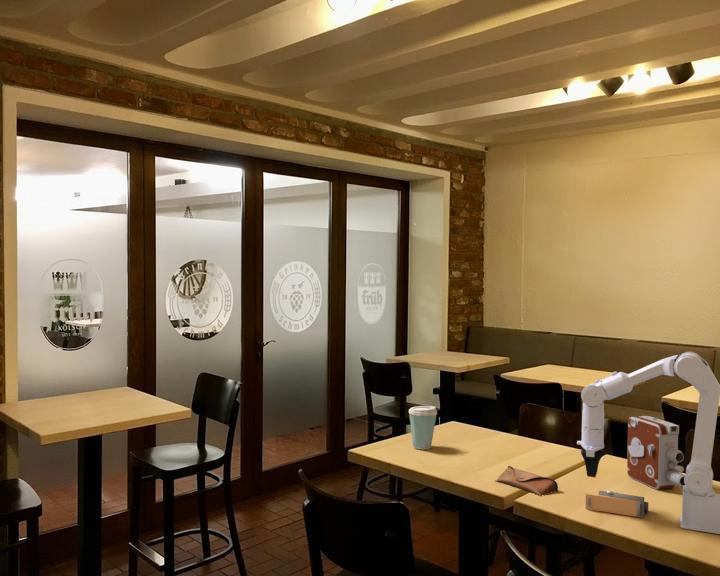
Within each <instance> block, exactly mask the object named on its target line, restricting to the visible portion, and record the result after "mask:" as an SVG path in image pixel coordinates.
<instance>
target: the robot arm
mask: <svg viewBox="0 0 720 576" xmlns="http://www.w3.org/2000/svg"><path fill="white" fill-rule="evenodd" d="M610 374H611V375H610V376H607V377H605V378H602V379H599V378H598V379H595V381H594V382H593V383H588V385H586V386H585V387H584V388H582V391H581V393H580V398H581V400H582V411H581V413H582V414H581V440H577V442H576V445H578V446H581V447H582V448H581V450H580V454H581V456H582V458H583V461H584V464H585V465H584V466H585V471H586V476H587V477H589V478H596V477H597V473H598V470H599V469H598V468H599V465H600V464H599V463H600V461H601V459H602V457H603V455H604V450H603V449H604V448H605V443H604V442H605V441H604V438H605V410H604V409H605V403H604V402H605V400H607V401H611V400H613V399H615V398H618V397H621V396H623V395H626V394H628V393H631V392H632V391H633V387H634V385H638V384H640V383H643V382H645V381H649V380H651V379H654V378H656V377H659V376H662V375H664V376H668V377H675V376H676V375H677V376H678V377H679V378H681V379H682V380H683V381H686V382H687V383H689V384H690V385H692V386H693V388H695V390H696V391H697V392H698V393H699V396H698V397H699V398H698V405H697V411H696V420H695V429H694V435H693V443H692V450H691V451H692V452H691V457H690V458H691V459H690V461H689V464H687V466H686V468H685V474H684V475H685V477H684V483H685V485H684V486H682V501H681V502H682V503H681V505H682V509H681V515H679V521H680V528H681V529H685V530H693V531H698V532H703V533H710V534H716V535H720V493H716V491H715V489H714V488H713V487H714V483H713V479H714V471H713V469H712V458H713V449H714V441H715V434H716V426H717V419H718V412H719V404H720V382H719V381H718V379H717V378H716V376H715V374H714V372H713V371H712V369H711V367H710V365H709V364H708V362H707V361H706V360H705V358H703V357H702V356H700V354H698V353H696V352H694V351H685V352H683V353H681V354H676V355H675V354H674V355H671V356H669V357H665V358H662V359H659V360H658V361H655V362H653V363H651V364H648V365H645V366H644V367H642V368H639V369H637V370H635V371H633V372H630V373H626V372H623V371H619V372H617V371H613V372H611V373H610Z"/></svg>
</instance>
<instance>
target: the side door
mask: <svg viewBox="0 0 720 576" xmlns="http://www.w3.org/2000/svg"><path fill="white" fill-rule="evenodd" d="M585 509H586V510H593V511H599V512H605V513H613V514H617V515H624V516H631V517H634V518H635V517H636V518H641V517H640V501H634V500H628V499H621V498H614V497H608V496H601V495H598V494H593V493H588V492H587V493H585Z"/></svg>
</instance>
